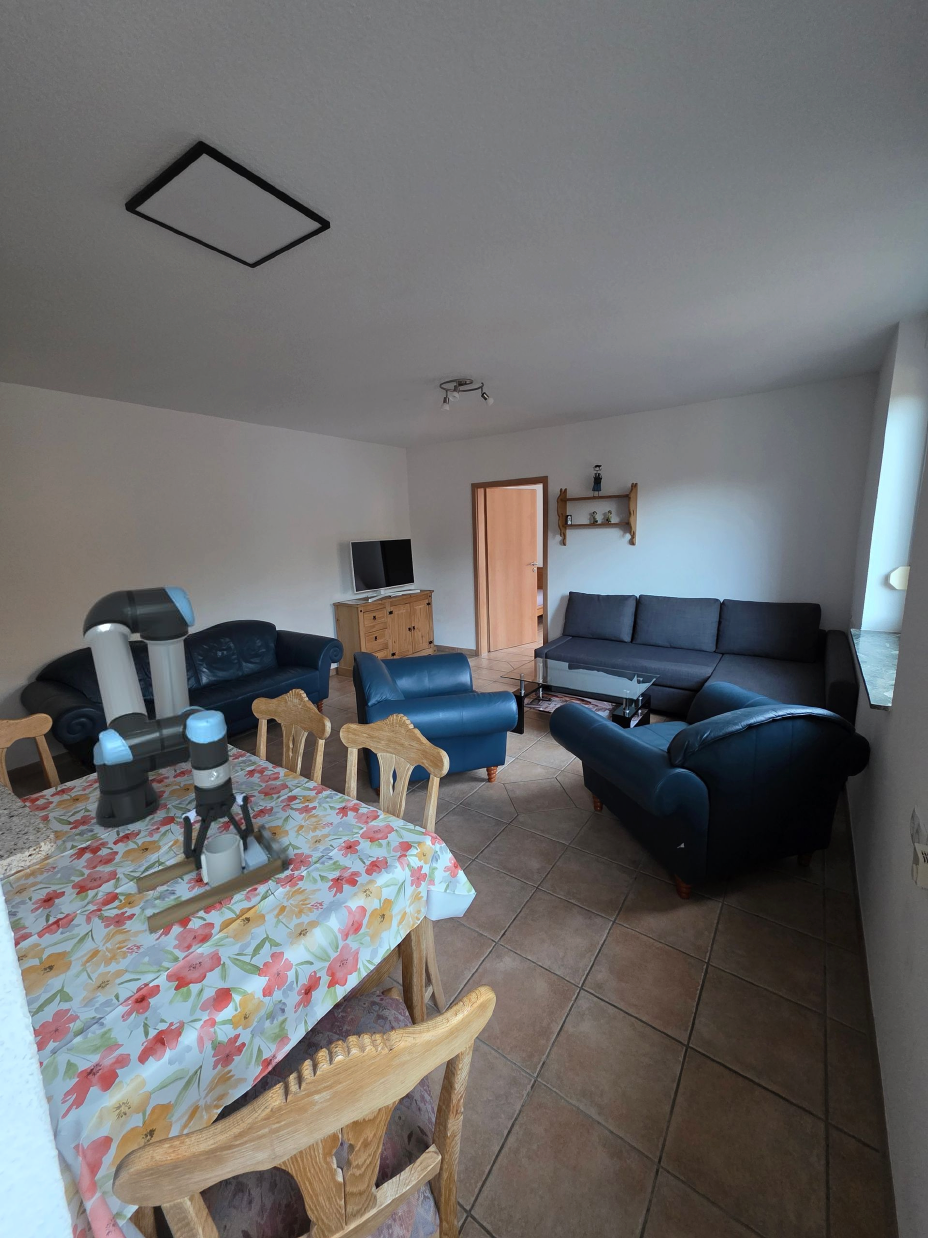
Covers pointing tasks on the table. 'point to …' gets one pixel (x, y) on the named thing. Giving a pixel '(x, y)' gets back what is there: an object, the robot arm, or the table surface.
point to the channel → (215, 893)
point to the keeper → (254, 855)
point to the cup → (222, 859)
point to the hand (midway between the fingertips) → (223, 871)
